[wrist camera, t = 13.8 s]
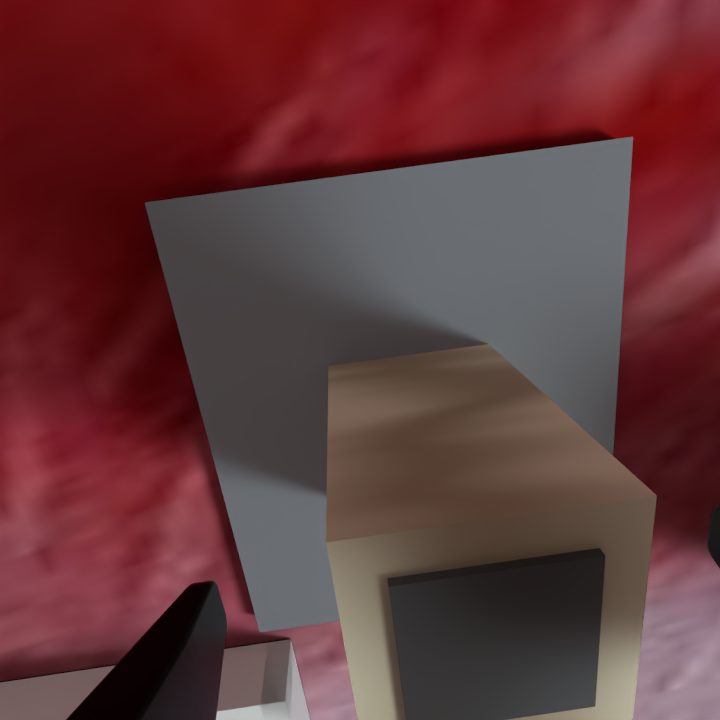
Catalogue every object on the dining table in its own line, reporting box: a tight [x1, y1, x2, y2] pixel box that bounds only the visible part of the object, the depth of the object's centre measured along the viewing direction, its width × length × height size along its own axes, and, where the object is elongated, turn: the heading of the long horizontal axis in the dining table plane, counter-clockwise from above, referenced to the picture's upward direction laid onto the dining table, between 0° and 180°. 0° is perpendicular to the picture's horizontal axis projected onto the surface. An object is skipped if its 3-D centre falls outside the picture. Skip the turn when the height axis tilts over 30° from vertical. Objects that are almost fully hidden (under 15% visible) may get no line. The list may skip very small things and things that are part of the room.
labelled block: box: [326, 344, 657, 720], centre depth 10 cm, size 4×5×7 cm
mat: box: [145, 137, 633, 632], centre depth 14 cm, size 14×12×1 cm
